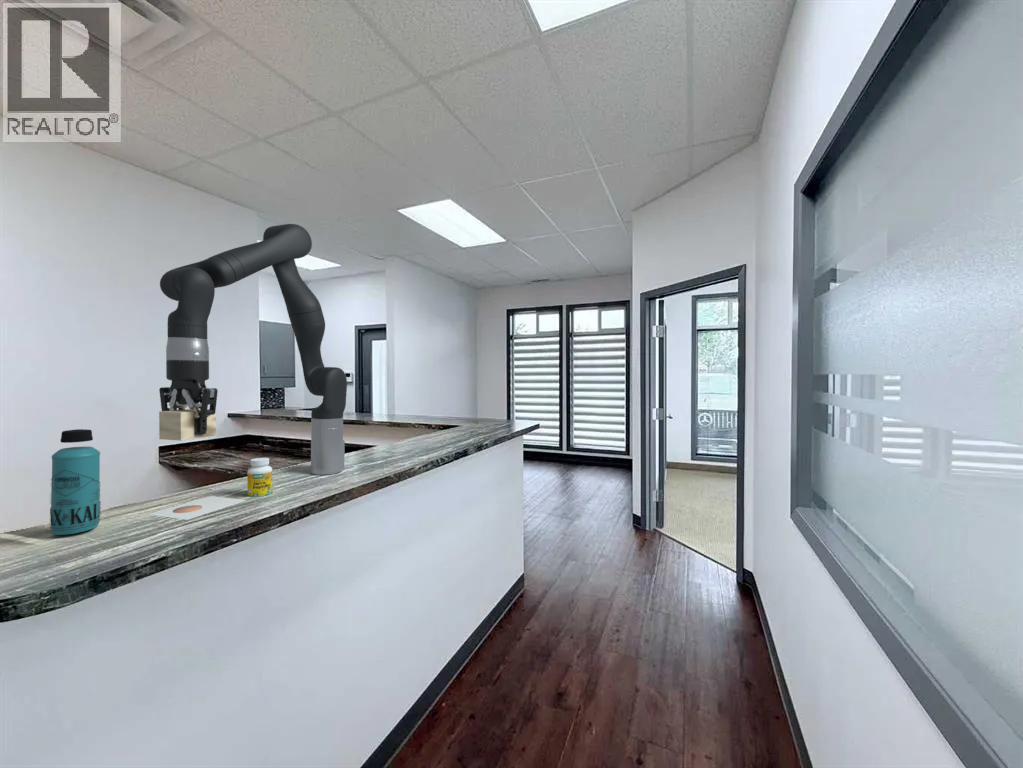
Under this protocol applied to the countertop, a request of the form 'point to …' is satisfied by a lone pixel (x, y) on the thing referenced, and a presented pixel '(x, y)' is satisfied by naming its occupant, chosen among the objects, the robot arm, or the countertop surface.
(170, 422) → the block
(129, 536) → the countertop surface
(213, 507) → the board
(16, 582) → the countertop surface
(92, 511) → the beverage bottle
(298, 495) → the countertop surface
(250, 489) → the supplement bottle
